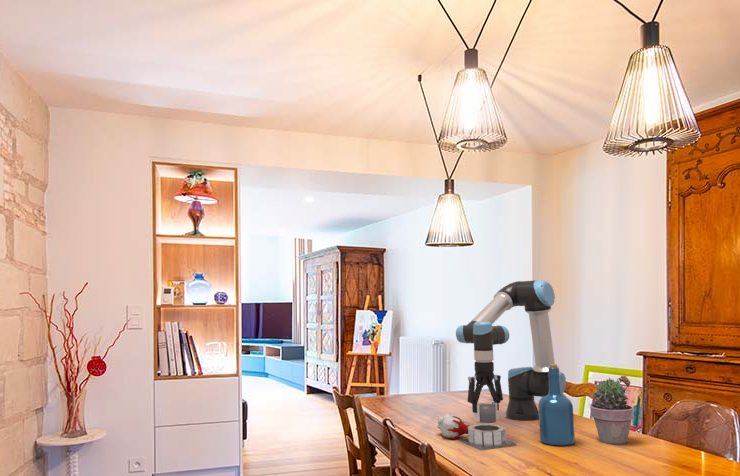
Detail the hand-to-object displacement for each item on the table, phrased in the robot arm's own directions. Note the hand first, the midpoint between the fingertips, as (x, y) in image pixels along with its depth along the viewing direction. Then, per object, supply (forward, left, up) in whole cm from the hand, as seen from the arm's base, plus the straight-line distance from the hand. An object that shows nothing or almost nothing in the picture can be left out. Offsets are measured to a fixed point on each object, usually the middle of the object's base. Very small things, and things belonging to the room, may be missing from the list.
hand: (486, 420), depth 223 cm
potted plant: (-44, +19, -9) cm, 49 cm away
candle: (+7, -14, -9) cm, 18 cm away
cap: (0, 0, 0) cm, 0 cm away
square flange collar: (0, 0, -9) cm, 9 cm away
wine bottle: (-25, +11, -9) cm, 29 cm away
